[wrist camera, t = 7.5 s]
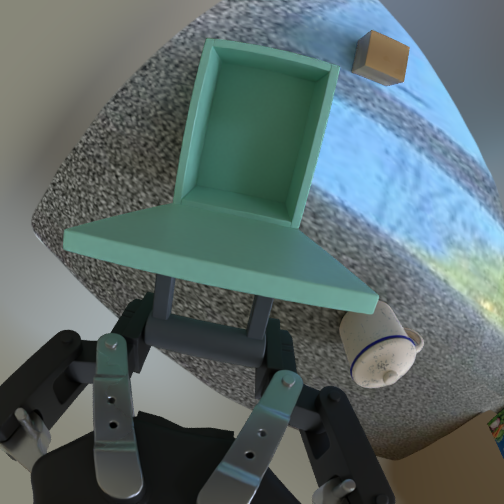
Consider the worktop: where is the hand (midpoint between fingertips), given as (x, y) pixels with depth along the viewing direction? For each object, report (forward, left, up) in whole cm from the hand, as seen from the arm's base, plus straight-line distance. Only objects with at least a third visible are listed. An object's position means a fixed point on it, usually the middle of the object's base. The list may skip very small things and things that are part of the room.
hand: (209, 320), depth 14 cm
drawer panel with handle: (-3, 0, -5) cm, 6 cm away
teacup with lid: (+12, +23, -20) cm, 33 cm away
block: (-21, +11, -20) cm, 31 cm away
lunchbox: (-9, 0, -20) cm, 22 cm away
